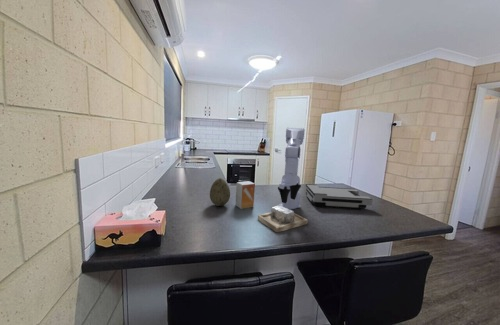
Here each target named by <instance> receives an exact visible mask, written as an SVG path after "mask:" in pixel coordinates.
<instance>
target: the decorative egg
mask: <svg viewBox="0 0 500 325" xmlns="http://www.w3.org/2000/svg"><path fill="white" fill-rule="evenodd" d="M209 199H210V201H211V203H212V204H213V205H215V206H217V207H223V206H225V205H227V203H229V200H230V199H231V190H230V187H229V184H228V183H227V181H226V180H225V179H224V178H221V177H219V178H217V179H216V180H215V181H214V182H213V183H212V185H211V187H210V191H209Z"/></svg>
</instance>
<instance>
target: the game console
mask: <svg viewBox="0 0 500 325" xmlns="http://www.w3.org/2000/svg"><path fill="white" fill-rule="evenodd" d="M304 191H305V195H306V196H307V198H308V199H309V201H310V202H311V203H312V204H313V205H314V206H316V208H323V209H338V210H339V209H340V210H353V209H354V210H355V211H357V210H358V211H362V208H364V209H365V208H366V209H367V206H372V205H373V199H372V198H371V197H369V196H367V195H366V196H362V195H359V192H360V191H359V190H357V189H356V188H349V187H346V188H345V187H330V186H328V187H327V186H319V185H317V184H307V183H306V184H305V190H304Z"/></svg>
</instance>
